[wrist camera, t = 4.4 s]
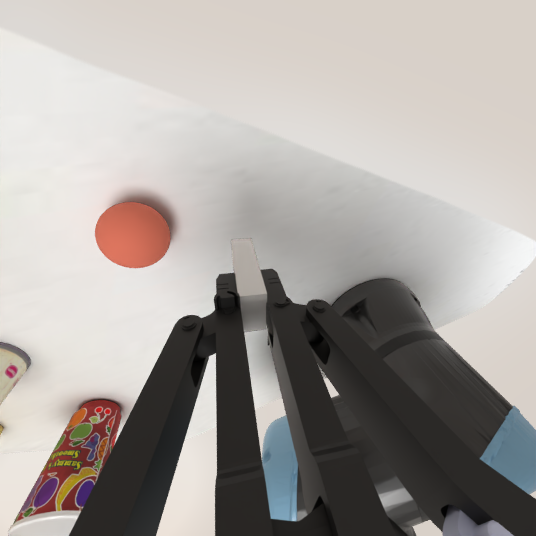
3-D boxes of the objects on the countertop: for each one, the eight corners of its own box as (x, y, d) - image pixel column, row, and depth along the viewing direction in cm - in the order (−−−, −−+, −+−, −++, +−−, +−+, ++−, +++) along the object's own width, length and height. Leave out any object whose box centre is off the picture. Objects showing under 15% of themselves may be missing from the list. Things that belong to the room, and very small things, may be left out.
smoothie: (99, 388, 36) (1, 615, 20) (140, 407, 41) (87, 605, 24) (58, 409, 37) (-70, 644, 21) (102, 426, 42) (27, 629, 25)
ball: (167, 193, 23) (154, 213, 18) (179, 247, 26) (171, 277, 21) (100, 195, 22) (67, 218, 17) (122, 251, 25) (98, 284, 20)
